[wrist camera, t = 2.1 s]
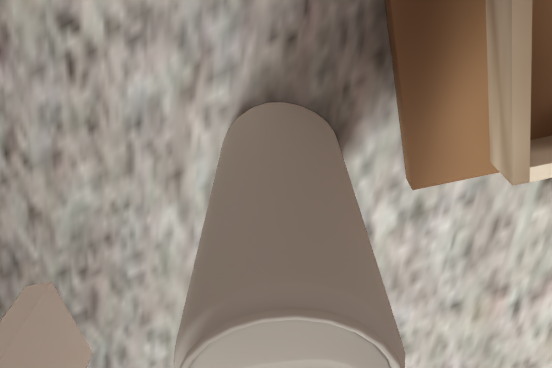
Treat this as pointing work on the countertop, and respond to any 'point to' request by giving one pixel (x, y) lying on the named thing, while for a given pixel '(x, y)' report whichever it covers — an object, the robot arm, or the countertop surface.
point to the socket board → (473, 88)
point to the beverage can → (285, 256)
